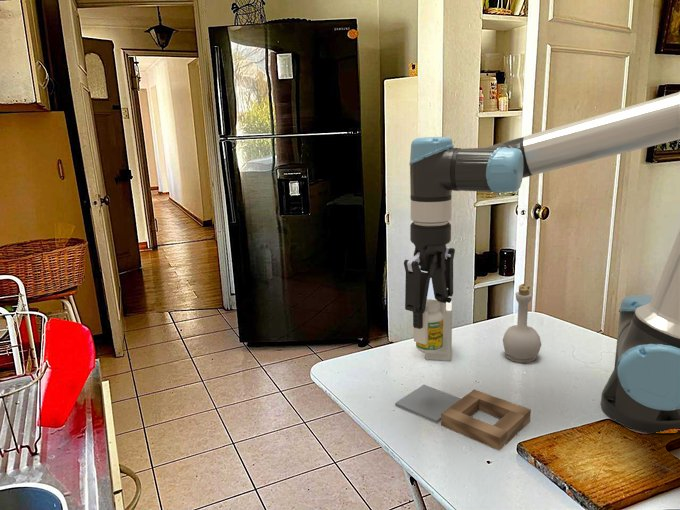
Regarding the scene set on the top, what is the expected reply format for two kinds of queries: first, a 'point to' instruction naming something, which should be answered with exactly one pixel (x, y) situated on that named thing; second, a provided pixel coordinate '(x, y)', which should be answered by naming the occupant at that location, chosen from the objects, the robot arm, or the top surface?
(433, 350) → the supplement bottle
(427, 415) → the rest mat
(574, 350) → the top surface
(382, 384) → the top surface
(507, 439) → the socket block
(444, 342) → the small box
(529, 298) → the potion bottle
